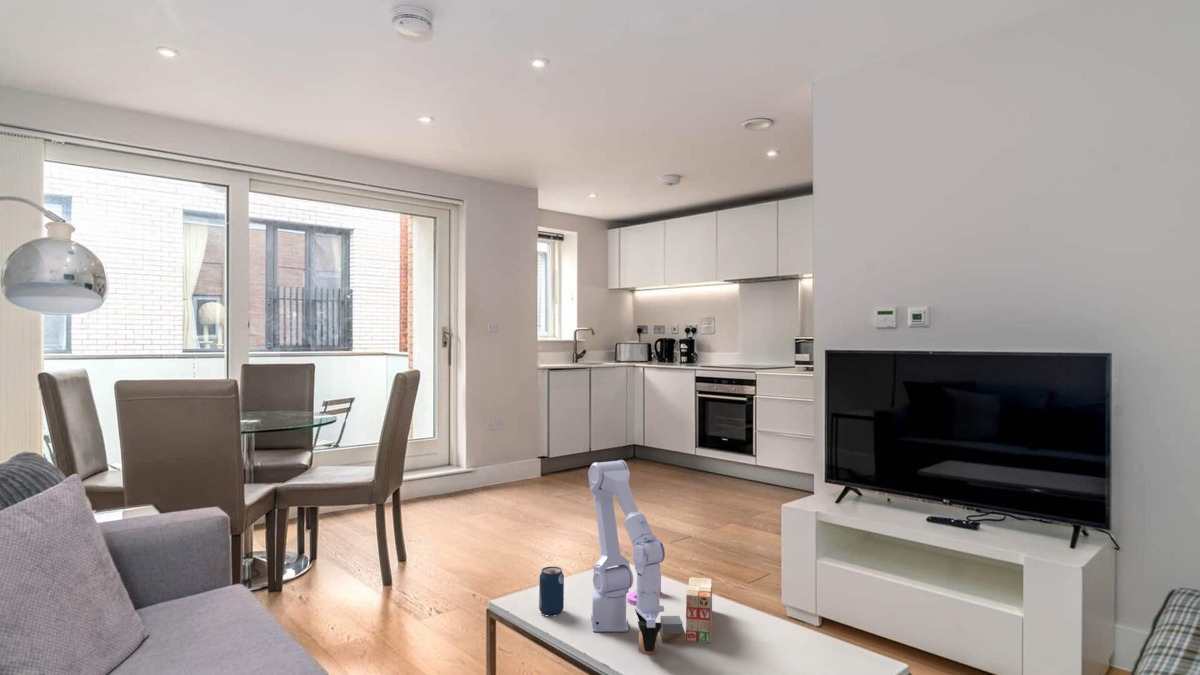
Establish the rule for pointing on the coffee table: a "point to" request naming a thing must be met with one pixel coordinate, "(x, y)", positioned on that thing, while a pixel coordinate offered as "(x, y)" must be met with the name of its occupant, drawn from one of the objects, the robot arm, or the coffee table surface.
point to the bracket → (633, 596)
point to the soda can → (551, 591)
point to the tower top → (671, 625)
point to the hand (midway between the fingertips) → (647, 644)
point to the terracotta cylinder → (641, 645)
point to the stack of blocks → (699, 610)
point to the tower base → (673, 637)
